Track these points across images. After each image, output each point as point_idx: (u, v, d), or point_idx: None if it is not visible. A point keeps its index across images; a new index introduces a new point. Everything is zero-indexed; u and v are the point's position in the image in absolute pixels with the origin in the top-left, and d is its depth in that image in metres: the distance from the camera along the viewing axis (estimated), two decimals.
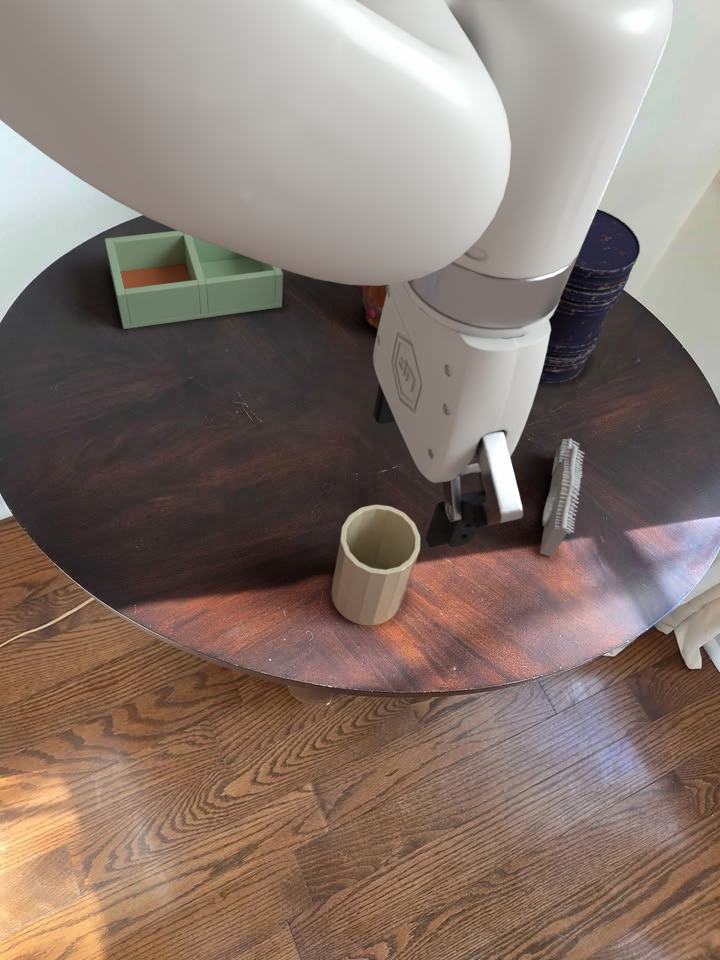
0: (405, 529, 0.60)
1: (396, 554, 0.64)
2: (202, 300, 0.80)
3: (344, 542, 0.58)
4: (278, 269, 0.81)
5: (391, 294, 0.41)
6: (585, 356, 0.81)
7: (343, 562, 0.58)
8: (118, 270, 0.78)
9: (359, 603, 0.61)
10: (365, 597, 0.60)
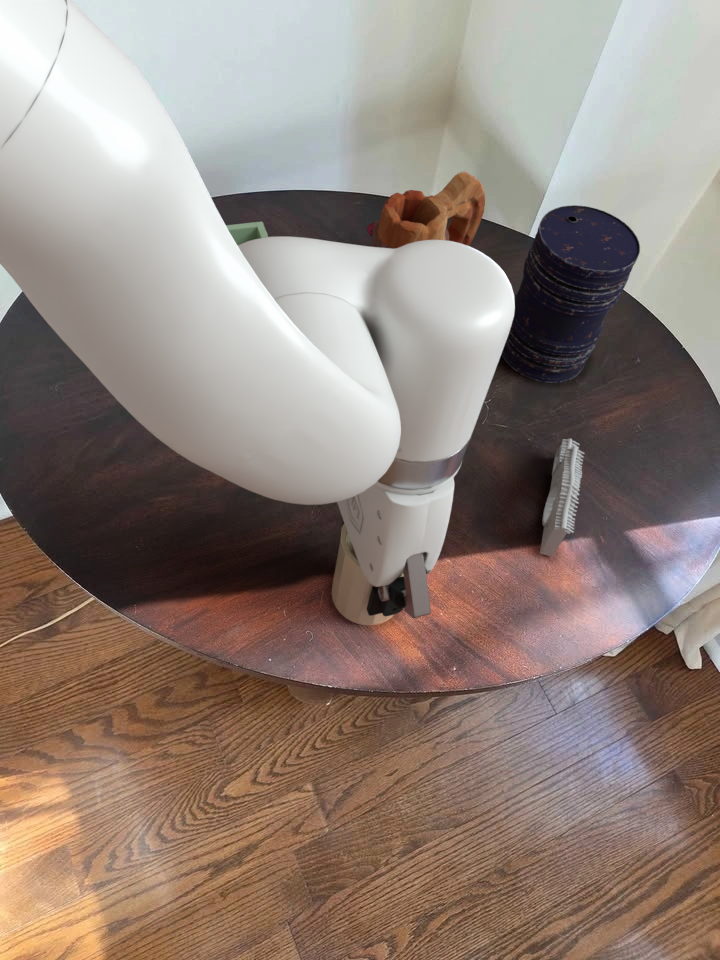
0: None
1: None
2: None
3: (344, 542, 0.58)
4: None
5: None
6: (585, 356, 0.81)
7: (343, 562, 0.58)
8: None
9: (359, 603, 0.61)
10: (365, 597, 0.60)
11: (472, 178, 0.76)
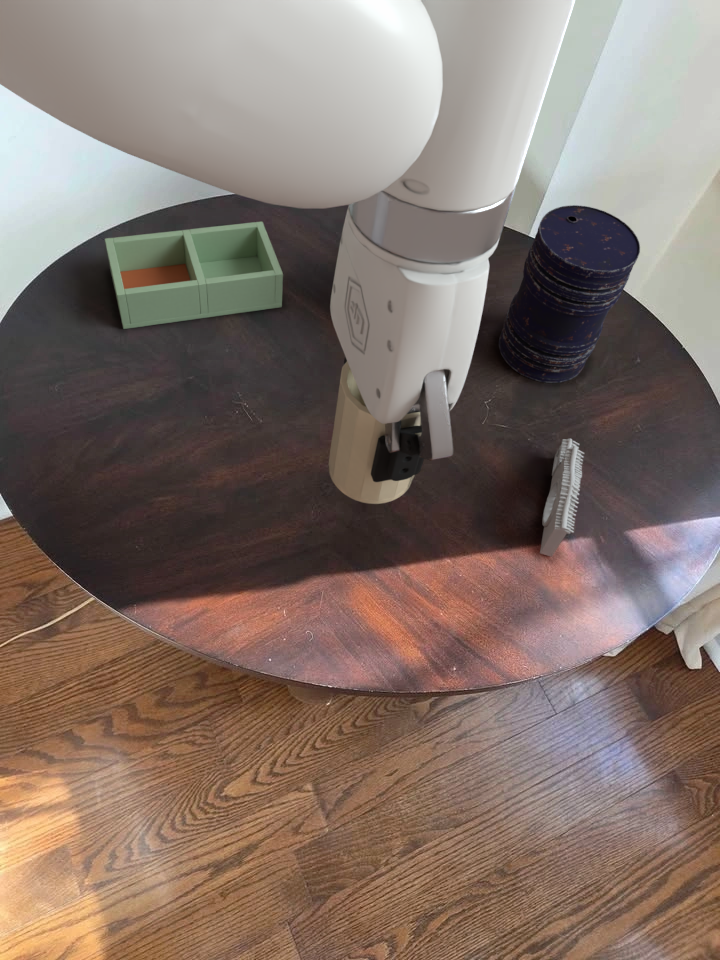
0: None
1: None
2: (202, 300, 0.80)
3: (345, 384, 0.47)
4: (278, 269, 0.81)
5: (343, 240, 0.42)
6: (585, 356, 0.81)
7: (343, 410, 0.47)
8: (118, 270, 0.78)
9: (362, 469, 0.50)
10: (369, 458, 0.49)
11: None
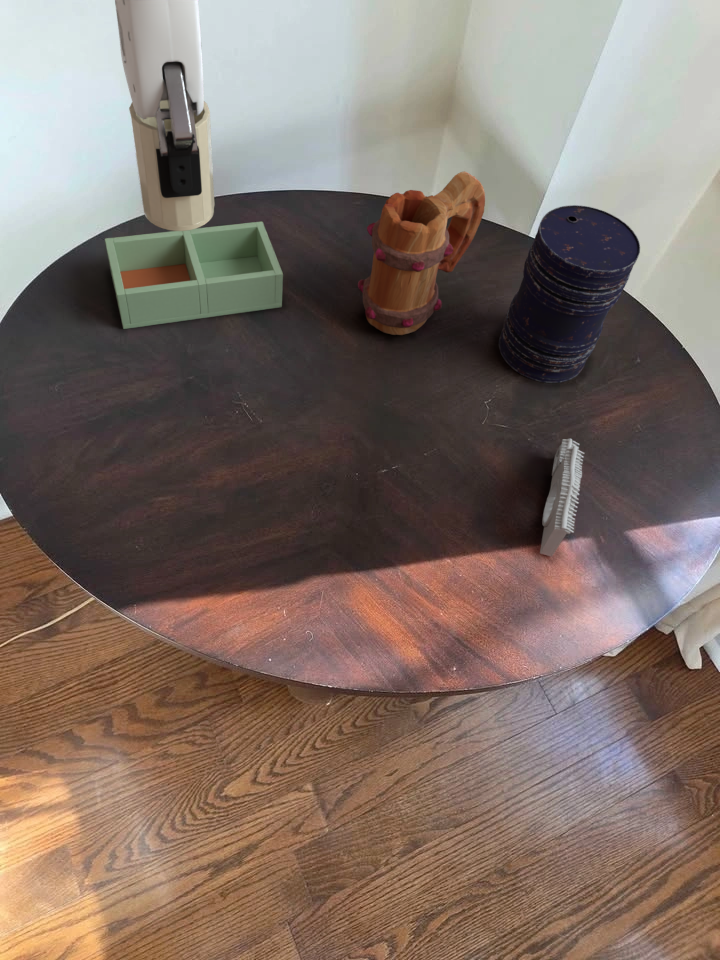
0: (200, 114, 0.62)
1: None
2: (202, 300, 0.80)
3: (132, 109, 0.60)
4: (278, 269, 0.81)
5: None
6: (585, 356, 0.81)
7: (133, 133, 0.60)
8: (118, 270, 0.78)
9: (157, 190, 0.63)
10: None
11: (472, 178, 0.76)
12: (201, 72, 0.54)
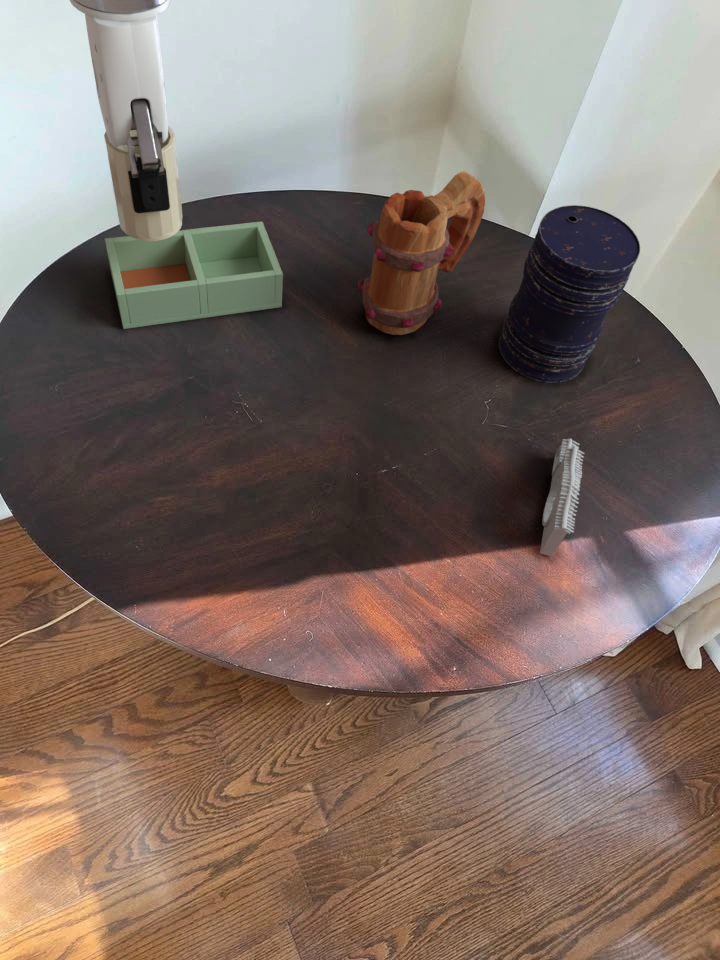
0: (167, 139, 0.71)
1: None
2: (202, 300, 0.80)
3: (107, 136, 0.68)
4: (278, 269, 0.81)
5: None
6: (585, 356, 0.81)
7: (108, 157, 0.69)
8: (118, 270, 0.78)
9: (130, 206, 0.71)
10: None
11: (472, 178, 0.76)
12: (165, 106, 0.63)
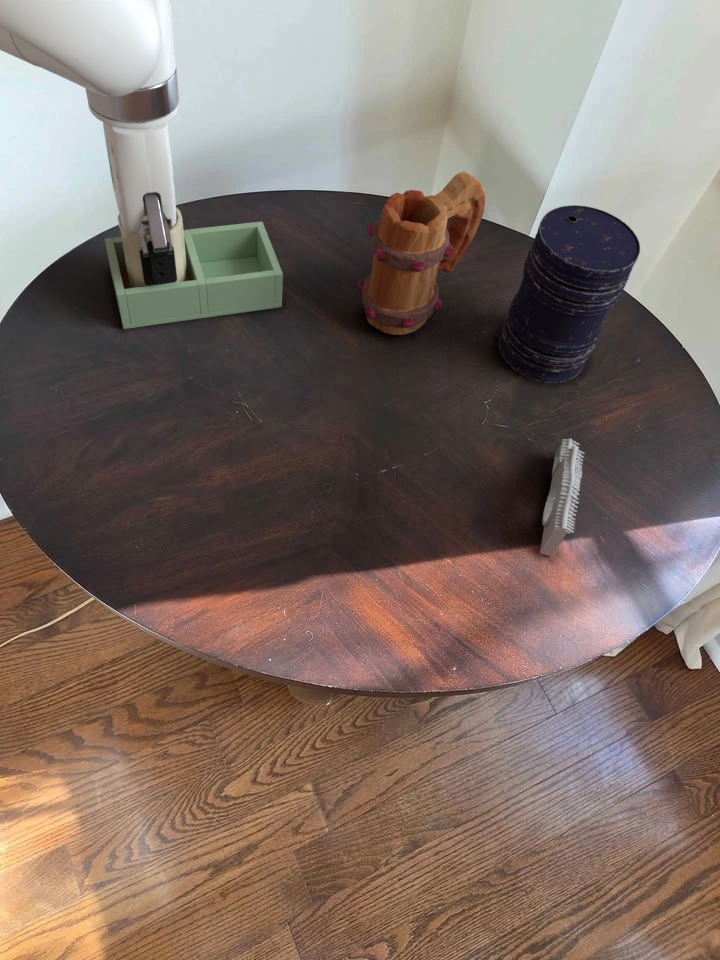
0: None
1: None
2: (202, 300, 0.80)
3: (120, 218, 0.75)
4: (278, 269, 0.81)
5: None
6: (585, 356, 0.81)
7: (121, 236, 0.76)
8: (118, 270, 0.78)
9: (141, 278, 0.78)
10: None
11: (472, 178, 0.76)
12: (173, 198, 0.69)
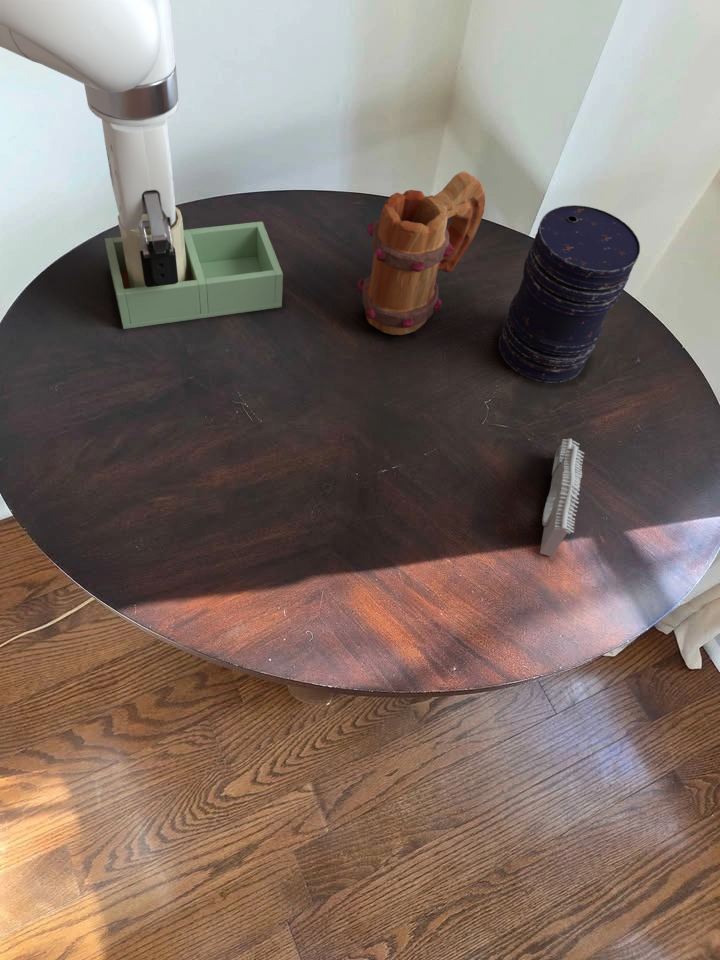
0: (175, 218, 0.77)
1: None
2: (202, 300, 0.80)
3: None
4: (278, 269, 0.81)
5: None
6: (585, 356, 0.81)
7: (121, 236, 0.76)
8: (118, 270, 0.78)
9: (141, 278, 0.78)
10: None
11: (472, 178, 0.76)
12: (173, 196, 0.69)
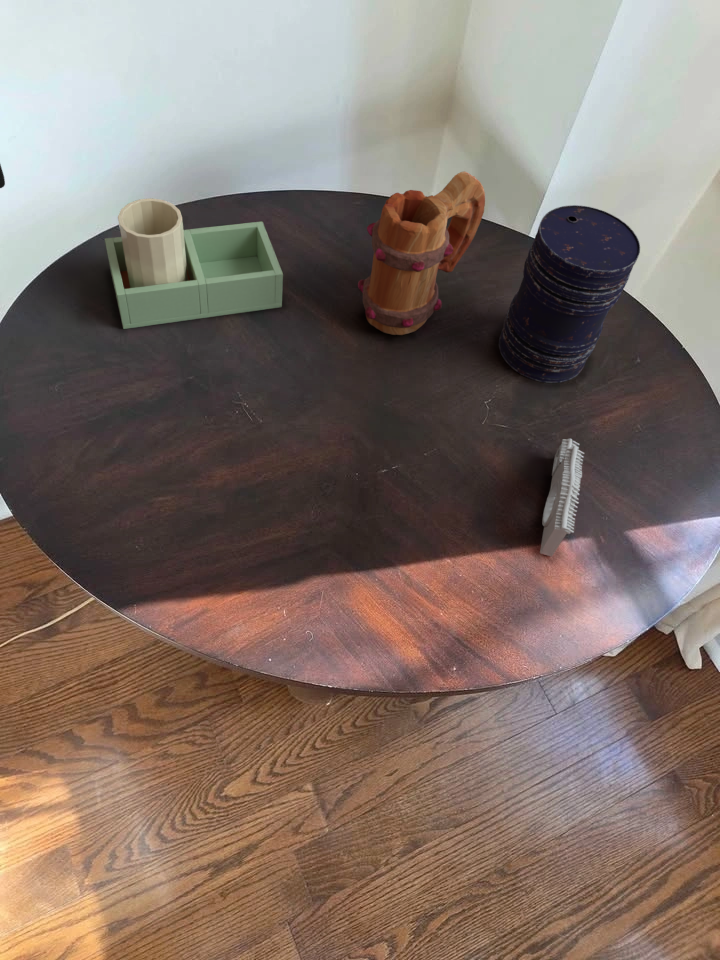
0: (175, 218, 0.77)
1: None
2: (202, 300, 0.80)
3: (120, 218, 0.75)
4: (278, 269, 0.81)
5: None
6: (585, 356, 0.81)
7: (121, 236, 0.76)
8: (118, 270, 0.78)
9: (141, 278, 0.78)
10: (142, 269, 0.77)
11: (472, 178, 0.76)
12: None
